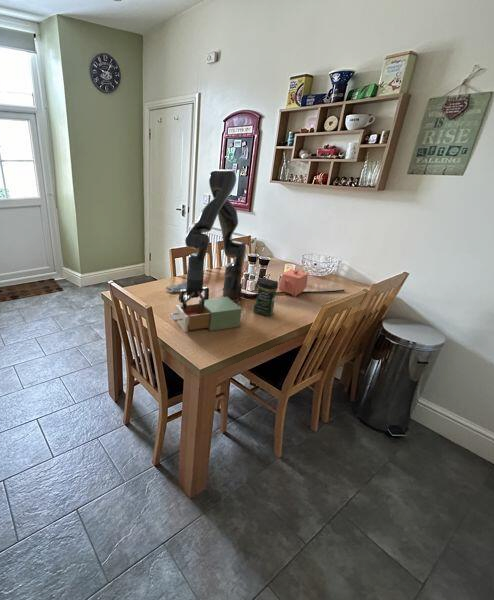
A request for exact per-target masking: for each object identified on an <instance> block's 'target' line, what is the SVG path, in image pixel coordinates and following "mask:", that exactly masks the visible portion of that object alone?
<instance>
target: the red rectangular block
mask: <svg viewBox="0 0 494 600" xmlns="http://www.w3.org/2000/svg"><path fill="white" fill-rule="evenodd" d="M184 312H185V314H186V315H187V316H188V325H189V318H190V315H197V312H196V311H195V310H191V311H184Z"/></svg>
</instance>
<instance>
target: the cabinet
mask: <svg viewBox="0 0 494 600" xmlns="http://www.w3.org/2000/svg"><path fill="white" fill-rule="evenodd" d="M200 300H201V299H198V303H200ZM204 307H205V308H206V309H207V310H208V311H209V312H210V313H211V318H210V327H207V328H206V329H207V330H209V331H219V330H223V329H224V330H225V329H230V328H231V329H233V328H239V327H240V326H241V325H240V324H241V317H242V310H243V309H242V307H240V306H239V305H238V304H236V303H235V301H232V300H230V299H229V298H228V297H214V298H209V299H208V300H205V302H204Z"/></svg>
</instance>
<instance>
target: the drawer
mask: <svg viewBox="0 0 494 600" xmlns="http://www.w3.org/2000/svg"><path fill="white" fill-rule="evenodd" d="M191 310H195V311H196V312H197V315H190V318H189V325H188V316H187V315H186V314H185V312H184V311H191ZM174 311H175V312H170V313H169V316H170V317H171V319H172V320H173V321H174V322H175V323H178V325H179V326H180V327H181V329H182V331H183V332H184V333H187V332H188V330H189V331H191V330H192V331H193V330H199V329H208V328H207V327H210V318H211V313H210V312H209V311H208V310H207V309H206V308H205V307H203V308H200V303H199V302H197V303H189V304H188V303H187V307H186V310H184V309H183V308H182V304H181V305H179V304H175V310H174Z"/></svg>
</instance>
